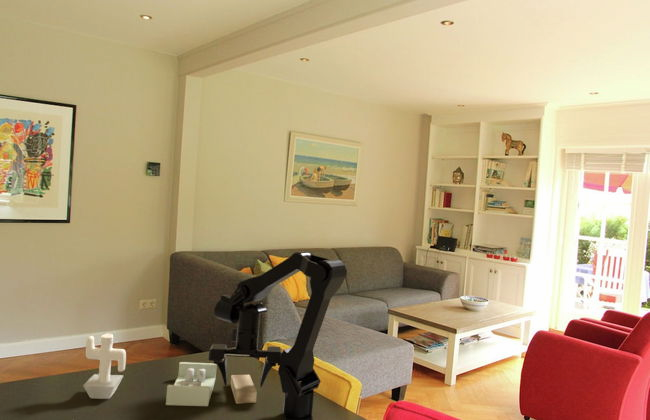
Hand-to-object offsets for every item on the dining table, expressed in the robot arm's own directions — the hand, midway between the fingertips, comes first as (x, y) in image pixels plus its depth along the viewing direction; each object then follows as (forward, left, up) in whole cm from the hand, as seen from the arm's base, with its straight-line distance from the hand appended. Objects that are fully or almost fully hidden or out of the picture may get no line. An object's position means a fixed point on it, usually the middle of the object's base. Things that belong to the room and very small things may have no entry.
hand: (243, 385), depth 125 cm
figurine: (+34, +4, -2) cm, 34 cm away
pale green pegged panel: (+13, 0, -2) cm, 13 cm away
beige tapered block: (0, 0, -2) cm, 2 cm away
